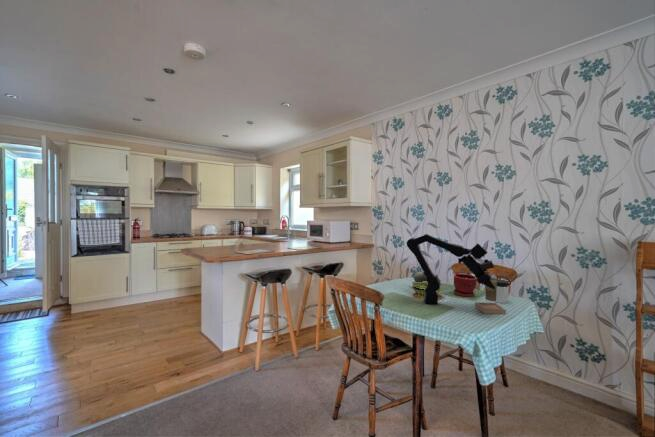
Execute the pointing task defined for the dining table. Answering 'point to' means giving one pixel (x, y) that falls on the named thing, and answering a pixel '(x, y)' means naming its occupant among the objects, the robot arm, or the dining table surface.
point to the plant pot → (464, 284)
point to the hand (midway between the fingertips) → (494, 287)
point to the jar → (502, 291)
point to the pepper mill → (489, 291)
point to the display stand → (490, 308)
